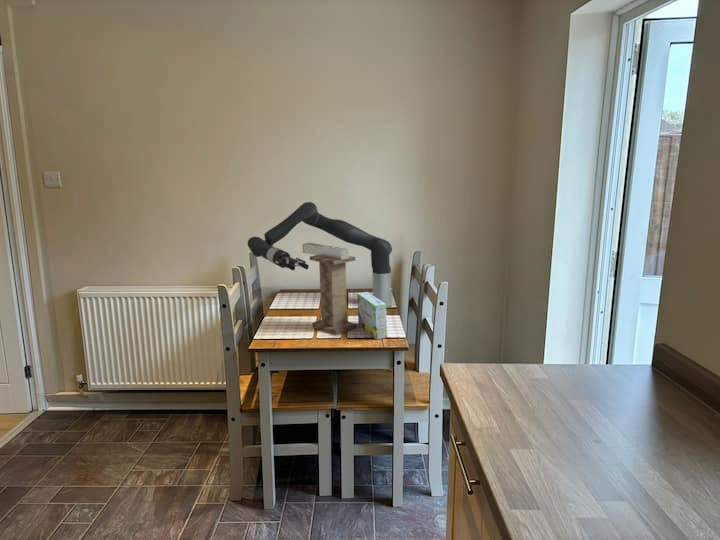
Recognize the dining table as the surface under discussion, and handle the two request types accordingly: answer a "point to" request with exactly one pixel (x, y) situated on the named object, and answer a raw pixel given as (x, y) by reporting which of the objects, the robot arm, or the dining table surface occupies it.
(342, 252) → the bar
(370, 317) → the snack box
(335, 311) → the stand
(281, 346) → the dining table surface
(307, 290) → the dining table surface
